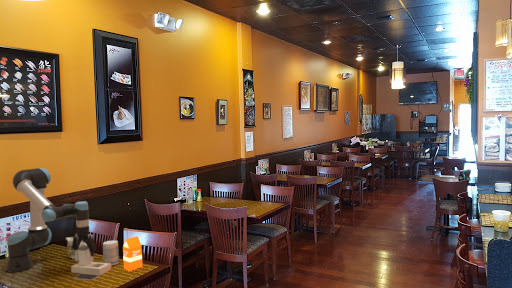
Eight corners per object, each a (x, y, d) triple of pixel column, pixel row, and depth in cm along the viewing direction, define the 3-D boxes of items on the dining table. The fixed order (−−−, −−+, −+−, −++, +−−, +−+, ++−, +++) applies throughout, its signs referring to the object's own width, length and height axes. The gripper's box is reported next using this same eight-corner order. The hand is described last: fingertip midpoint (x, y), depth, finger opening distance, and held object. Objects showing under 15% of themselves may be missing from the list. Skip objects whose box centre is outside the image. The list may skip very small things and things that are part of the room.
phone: (91, 281, 227) (91, 279, 227) (73, 279, 231) (73, 277, 231) (99, 277, 234) (99, 275, 234) (82, 275, 238) (82, 273, 238)
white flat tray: (71, 272, 242) (71, 266, 242) (83, 267, 252) (82, 261, 251) (100, 275, 235) (99, 268, 235) (111, 269, 245) (110, 263, 244)
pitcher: (81, 261, 264) (80, 241, 263) (61, 259, 269) (60, 239, 269) (93, 256, 274) (92, 236, 274) (73, 254, 280) (72, 235, 279)
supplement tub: (120, 264, 254) (119, 242, 253) (105, 267, 249) (104, 245, 248) (117, 260, 262) (116, 239, 262) (102, 263, 257) (101, 241, 256)
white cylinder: (79, 269, 243) (78, 247, 243) (84, 267, 248) (83, 245, 247) (85, 270, 242) (83, 248, 242) (90, 267, 246) (89, 245, 246)
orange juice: (123, 269, 245) (122, 238, 244) (136, 265, 251) (134, 235, 250) (130, 271, 239) (128, 240, 239) (142, 267, 246) (141, 236, 245)
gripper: (63, 226, 244) (65, 261, 245) (93, 228, 237) (94, 264, 238) (72, 223, 251) (74, 257, 252) (101, 225, 244) (103, 260, 245)
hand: (84, 260), depth 245 cm, fingers open, 10 cm apart
